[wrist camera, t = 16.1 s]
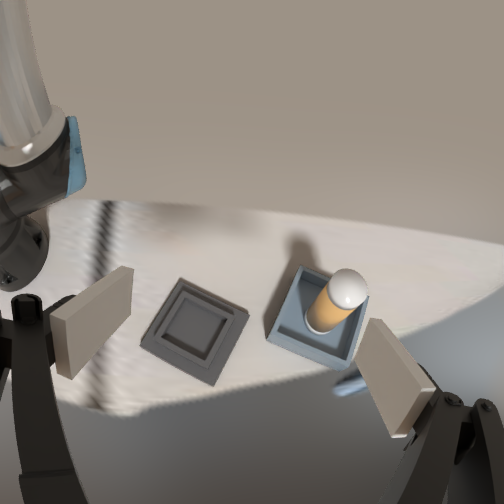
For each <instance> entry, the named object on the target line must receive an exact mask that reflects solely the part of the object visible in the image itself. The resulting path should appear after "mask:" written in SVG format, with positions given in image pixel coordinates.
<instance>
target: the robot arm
mask: <svg viewBox="0 0 504 504" xmlns="http://www.w3.org/2000/svg"><path fill="white" fill-rule="evenodd" d="M85 183H86V171H85V165H84V159H83V154H82V149H81V141H80V135H79V129H78V123H77V119H76V117H75V116H71V117H70V116H68V117H65V115H64V112H63V110H62V109H61V108H60V107H58V106H55V105H50V102H49V99H48V96H47V93H46V89H45V86H44V82H43V78H42V75H41V71H40V67H39V63H38V60H37V55H36V51H35V46H34V41H33V37H32V32H31V26H30V21H29V15H28V8H27V2H26V0H0V289H1V290H3V291H7V292H12V291H17V290H20V289H22V288H23V287H25V286H27V285H28V284H29V283H30V282H31V281H32V280H33V279H34V278H35V277H36V276H37V275H38V273H39V272H40V270H41V268H42V267H43V265H44V262H45V260H46V257H47V252H48V240H47V236H46V234H45V232H44V231H43V229H42V228H41V226H40V225H39V224H38V223H37V222H36V221H34V220H33V219H31V218H30V217H28V216H27V215H28V214H30V213H32V212H34V211H37V210H39V209H41V208H43V207H45V206H47V205H50V204H52V203H54V202H57V201H59V200H61V199H64V198H67V197H68V196H69V195H71V194H73V193H74V192H76V191H78V190H80V189H82V188H83V187H84V185H85ZM133 274H134V269H132V268H128V267H124V266H120V267H119V268H117V269H116V270H114V271H113V272H111V273H110V274H108V275H107V276H105V277H103V278H102V279H100V280H99V281H97V282H96V283H94V284H93V285H91V286H90V287H88V288H87V289H85V290H84V291H82V292H81V293H79V294H78V295H70V296H66V297H64V298H62V299H61V300H59V301H58V302H56V303H55V304H53V306H50V307H49V308H47V309H46V310H44V311H43V310H42V300H41V298H40V297H38V296H37V295H33V294H20V295H17V296H15V297H14V298H12V300H11V306H12V314H13V321H12V320H8V319H3V318H2V316H1V310H0V400H1V397H2V393H3V390H4V386H5V383H6V380H7V377H8V374H9V371H10V369H11V372H12V400H13V413H14V423H15V432H16V439H17V446H18V452H19V458H20V463H21V468H22V474H20V475H19V483H20V488H21V492H22V496H23V500H24V503H25V504H90V502H89V500H88V497H87V495H86V493H85V490H84V488H83V485H82V483H81V480H80V478H79V475H78V472H77V470H76V467H75V464H74V461H73V458H72V455H71V452H70V449H69V446H68V443H67V439H66V436H65V433H64V429H63V425H62V421H61V418H60V414H59V409H58V405H57V401H56V396H55V391H54V386H53V381H52V376H51V370H50V367H51V366H52V365H53V364H54V363H55V364H56V370H57V374H60V375H62V376H64V377H66V378H68V379H71V380H72V379H73V378H74V377H75V376H76V375H77V374H78V372H79V371H80V370H81V369H82V368H83V367H84V366H85V364H86V363H87V362H88V361H89V360H90V359H91V358H92V356H93V355H94V354H95V353H96V352H97V351H98V350H99V349H100V347H101V346H102V345H103V344H104V343H105V342H106V341H107V340H108V339H109V337H110V336H111V335H112V334H113V333H114V332H115V331H116V330H117V329H118V328H119V327H120V325H121V324H122V323H123V322H124V321H125V320H126V319H127V318H128V317H129V316H130V315H131V299H132V285H133ZM354 360H355V362H356V364H357V366H358V368H359V370H360V372H361V374H362V376H363V378H364V380H365V382H366V384H367V387H368V389H369V391H370V393H371V395H372V397H373V399H374V401H375V403H376V405H377V407H378V410H379V412H380V414H381V416H382V418H383V420H384V422H385V425H386V427H387V429H388V431H389V433H390V436H391V438H399V437H406V436H407V434H408V433H409V431H410V430H411V428H412V427H413V428H414V430H415V432H416V433H415V434H414V436H413V437H412V439H411V440H410V442H409V443H408V444H407V446H406V447H405V448H404V451H406V452H405V454H404V456H403V458H402V460H401V462H400V464H399V466H398V468H397V470H396V472H395V474H394V476H393V477H392V479H391V481H390V483H389V485H388V486H387V488H386V490H385V492H384V493H383V495H382V497H381V499H380V500H379V502H378V504H442V501H443V498H444V495H445V492H446V488H447V485H448V504H504V428H503V425H502V422H501V419H500V416H499V413H498V410H497V408H496V406H495V405H494V404H493V402H491V401H489V400H486V399H481V398H480V399H478V400H477V401H476V402H475V404H474V405H473V407H468V406H464V403H463V401H462V400H461V399H460V398H459V397H458V396H457V395H454V394H452V393H450V392H442V390H441V389H440V388H439V387H438V385H437V384H436V383H435V381H434V380H432V377H431V376H430V375H428V372H427V371H426V370H425V369H424V368H423V367H422V366H421V365H420V364H418V363H417V362H416V361H415V360H414V359H413V357H412V356H411V355H410V354H409V352H408V351H407V350H406V349H405V347H404V346H403V345H402V344H401V342H400V341H399V340H398V339H397V338H396V336H395V335H394V334H393V333H392V331H391V330H390V329H389V328H388V327H387V325H386V324H385V323H384V322H383V321H382V320H381V319H375V318H370V320H369V322H368V325H367V328H366V330H365V333H364V335H363V338H362V341H361V343H360V346H359V348H358V351H357V353H356V355H355V358H354Z"/></svg>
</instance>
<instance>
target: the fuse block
mask: <svg viewBox="0 0 504 504" xmlns="http://www.w3.org/2000/svg"><path fill="white" fill-rule="evenodd" d="M249 316H250V315H249V314H246V313H244V312H242V311H240V310H238V309H236V308H234V307H232V306H230V305H228V304H225V303H223V302H221V301H219V300H217V299H215V298H213V297H211V296H209V295H207V294H205V293H203V292H201V291H199V290H197V289H195V288H193V287H191V286H189V285H187V284H185V283H183V282H181V281H179V283H178V285H177V286H176V288H175V289H174V291H173V292H172V294H171V296H170V297H169V299H168V300H167V302H166V303H165V305H164V307H163V308H162V310H161V311H160V313H159V315H158V316H157V318H156V319H155V321H154V323H153V324H152V326H151V327H150V329H149V331H148V332H147V334H146V336H145V337H144V339H143V341H142V342H141V344H140V345H139V346H140V347H141V348H143V349H145V350H146V351H148V352H150V353H151V354H153V355H155V356H156V357H158V358H160V359H162V360H163V361H165V362H167V363H169V364H170V365H172V366H174V367H176V368H178V369H179V370H181V371H183V372H185V373H187V374H189V375H191V376H193V377H194V378H196V379H198V380H200V381H202V382H204V383H206V384H208V385H210V386H212V387H214V385H215V383H216V381H217V379H218V378H219V376H220V374H221V372H222V370H223V368H224V366H225V364H226V362H227V360H228V358H229V356H230V354H231V352H232V350H233V348H234V346H235V344H236V342H237V340H238V339H239V337H240V335H241V333H242V331H243V329H244V327H245V325H246V323H247V321H248V319H249Z"/></svg>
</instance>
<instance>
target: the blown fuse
mask: <svg viewBox="0 0 504 504" xmlns="http://www.w3.org/2000/svg"><path fill="white" fill-rule="evenodd" d="M367 294H368V287H367V283H366V281H365V279H364V278H363V277H362V276H361V275H360V274H359V273H358V272H356V271H354V270H352V269H341V270H338V271H337V272H336V273H335V274H334V275H333V276H332V278H331V279H330V280H329V282H328V283H327V284H326V286H325V287H324V288H323V290H322V291H321V292H320V294H319V295H318V296H317V298H316V299H315V300H314V302H313V303H312V304H311V305H310V307H309V308H308V309H307V311H306V312H305V314H304V324H305V327H306V328H307V330H308V331H309V332H311V333H312V334H314V335H318V336H322V335H326V334H328V333H329V332H330V331H331V330H333V329H334V328H335V327H336V326H337V325H338V324H339V323H341V322H342V321H343V320H344V319H345V318H346V317H347V316H348V315H349V314H351V313H352V312H353V311H354V310H355V309H356V308H357V307H358V306H359V305H360V304H361V303H363V302H364V301H365V299H366V297H367Z"/></svg>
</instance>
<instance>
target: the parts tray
mask: <svg viewBox="0 0 504 504" xmlns="http://www.w3.org/2000/svg"><path fill="white" fill-rule="evenodd" d="M330 279H331V278H329V277H326V276H324V275H322V274H320V273H318V272H315V271H313V270H311V269H309V268H307V267H304V266H302V265H300V267H299V269H298V271H297V273H296V275H295V277H294V279H293V281H292V284H291V286H290V288H289V291H288V293H287V295H286V298H285V300H284V302H283V304H282V307H281V309H280V311H279V313H278V315H277V318H276V320H275V322H274V324H273V327H272V329H271V331H270V333H269V335H268V337H267V341H269V342H271V343H273V344H275V345H278V346H280V347H282V348H285V349H287V350H289V351H291V352H294V353H296V354H298V355H301V356H303V357H305V358H308V359H310V360H313V361H315V362H317V363H320V364H322V365H325V366H327V367H330V368H332V369H335V370H338V371H341V370H344V369H346V368H348V367H349V365H350V362H351V359H352V356H353V353H354V349H355V346H356V343H357V339H358V336H359V333H360V329H361V326H362V322H363V318H364V315H365V311H366V307H367V303H368V299H369V296H368V295H367V297H366V299H365V301H364V302H363V303H361V304H360V305H359V306H358V307H357V308H356V309H355V310H354V311H353V312H352V313H351V314H349V315H348V316H347V317H346V318H345V319H344V320H343V321H342V322H341V323H339V324H338V325H337V326H336V327H335V328H334V329H333V330H331V331H330V332H329V333H328V334H326V335H322V336H318V335H314V334H312V333H311V332H309V331H308V330H307V328H306V327H305V324H304V314H305V312H306V311H307V309H308V308H309V307H310V305H311V304H312V303H313V302H314V300H315V299H316V298H317V296H318V295H319V294H320V292H321V291H322V290H323V288H324V287H325V286H326V284H327V283H328V282H329V280H330Z"/></svg>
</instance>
